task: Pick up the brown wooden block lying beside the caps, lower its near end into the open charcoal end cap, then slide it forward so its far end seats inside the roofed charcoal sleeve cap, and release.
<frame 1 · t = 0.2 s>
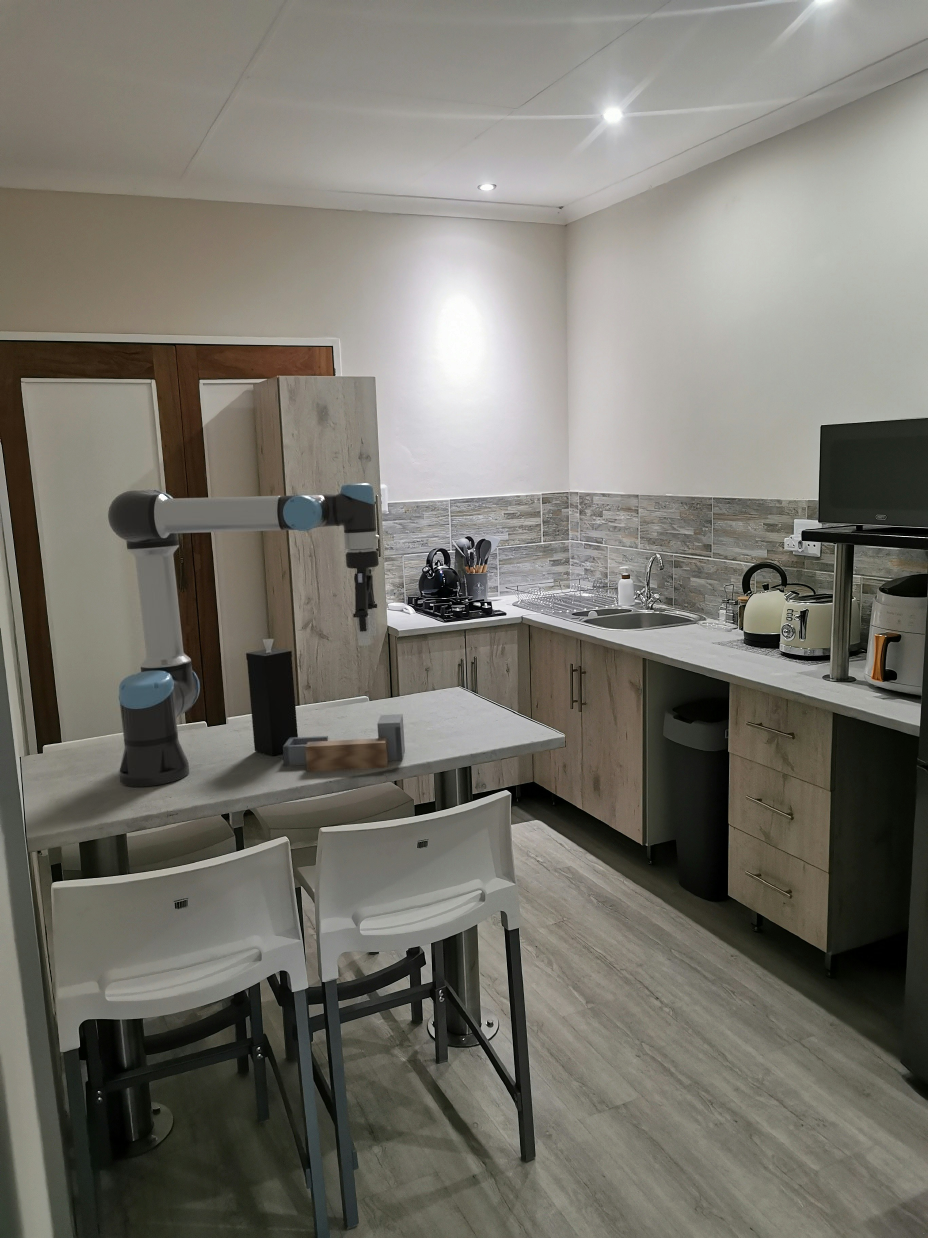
hand: (367, 640, 218), 27 cm above the table, fingers open, 13 cm apart
end cap A: (307, 759, 217), on the table
end cap B: (392, 756, 217), on the table
black tall block: (276, 751, 226), on the table
brown wooden block: (348, 767, 210), on the table
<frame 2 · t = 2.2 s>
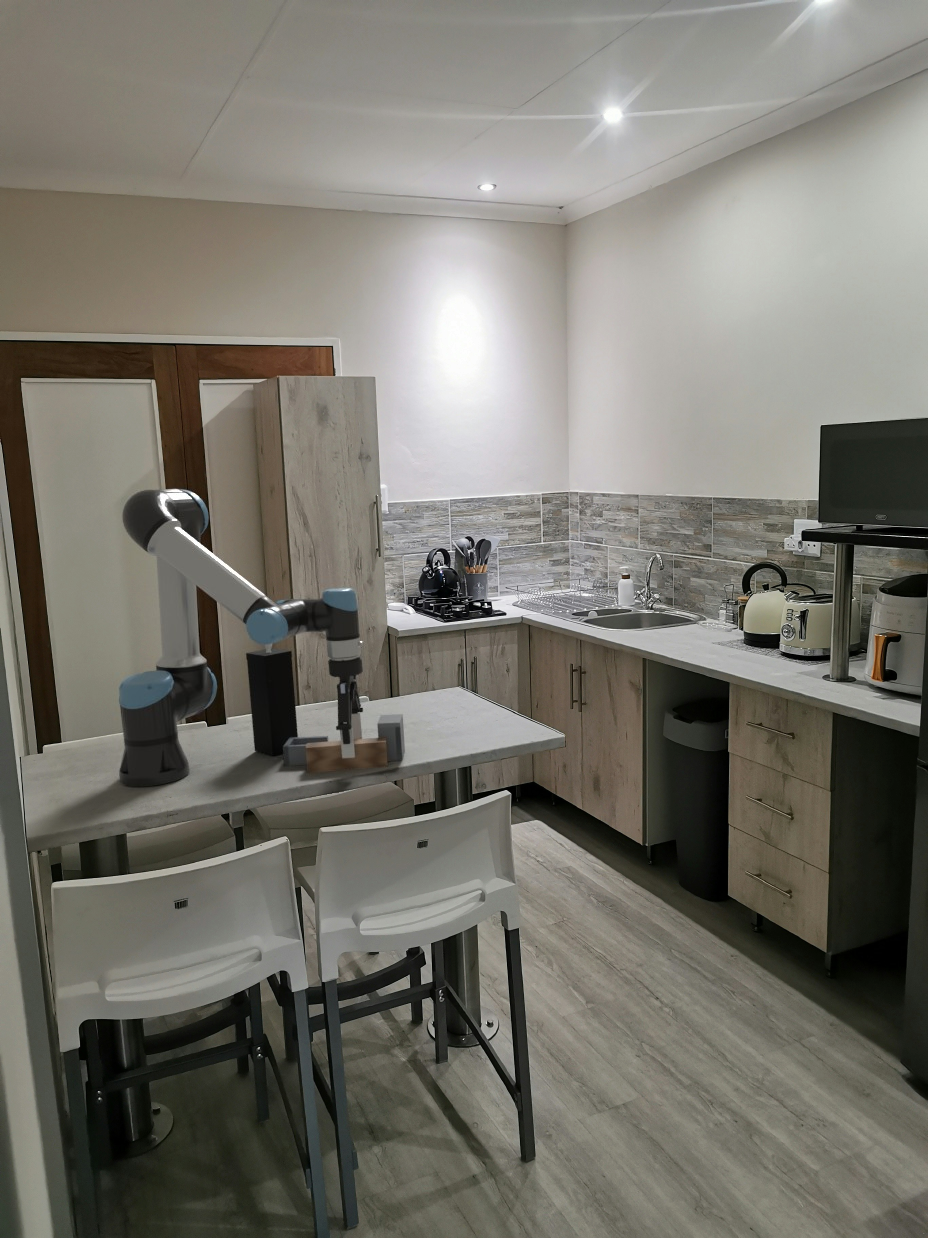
hand: (352, 749, 209), 4 cm above the table, fingers open, 13 cm apart
nothing on the table moved.
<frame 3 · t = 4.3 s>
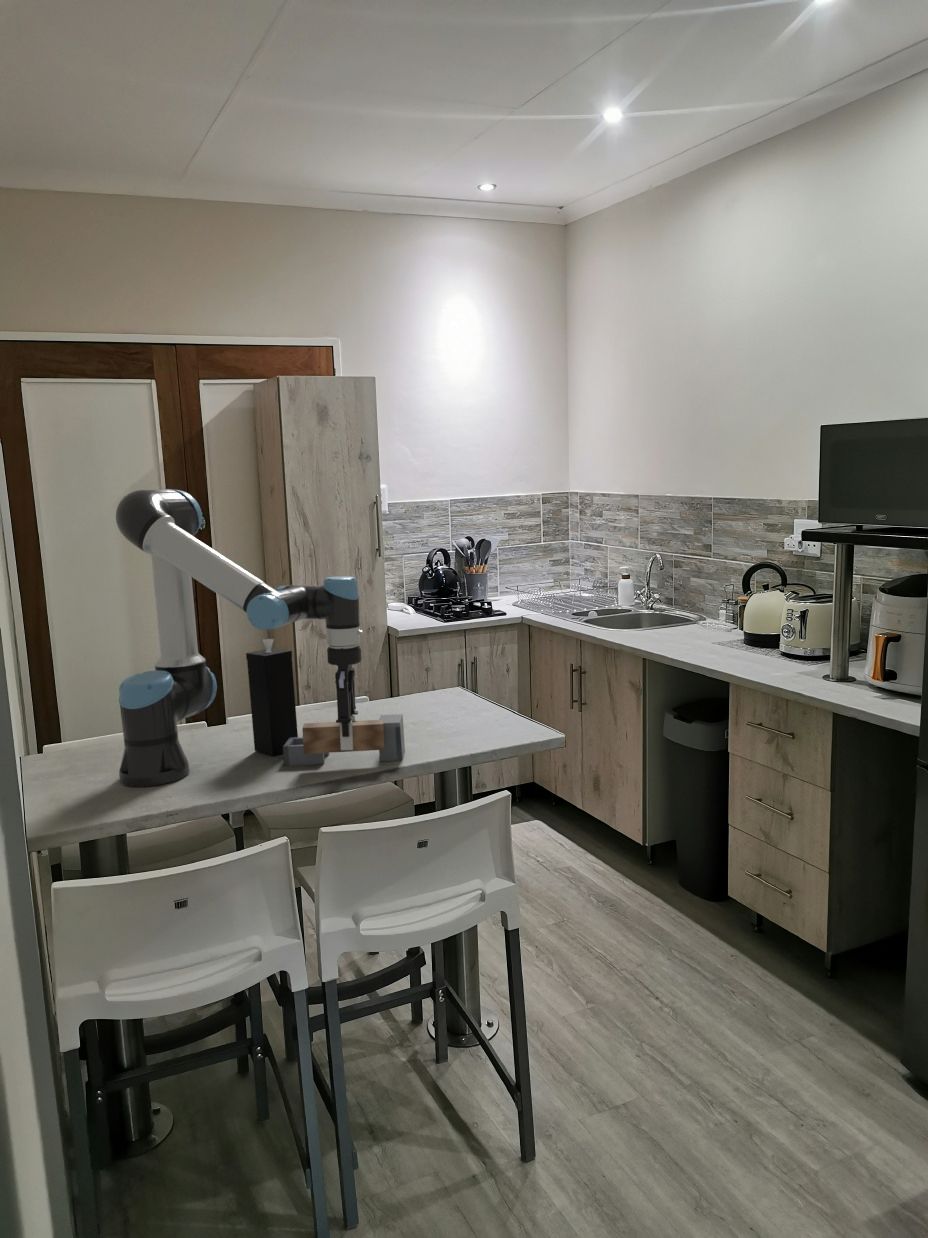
hand: (348, 746, 210), 5 cm above the table, fingers closed on brown wooden block, 4 cm apart
brown wooden block: (344, 749, 210), point 4 cm above the table, touching gripper
everything else where it was.
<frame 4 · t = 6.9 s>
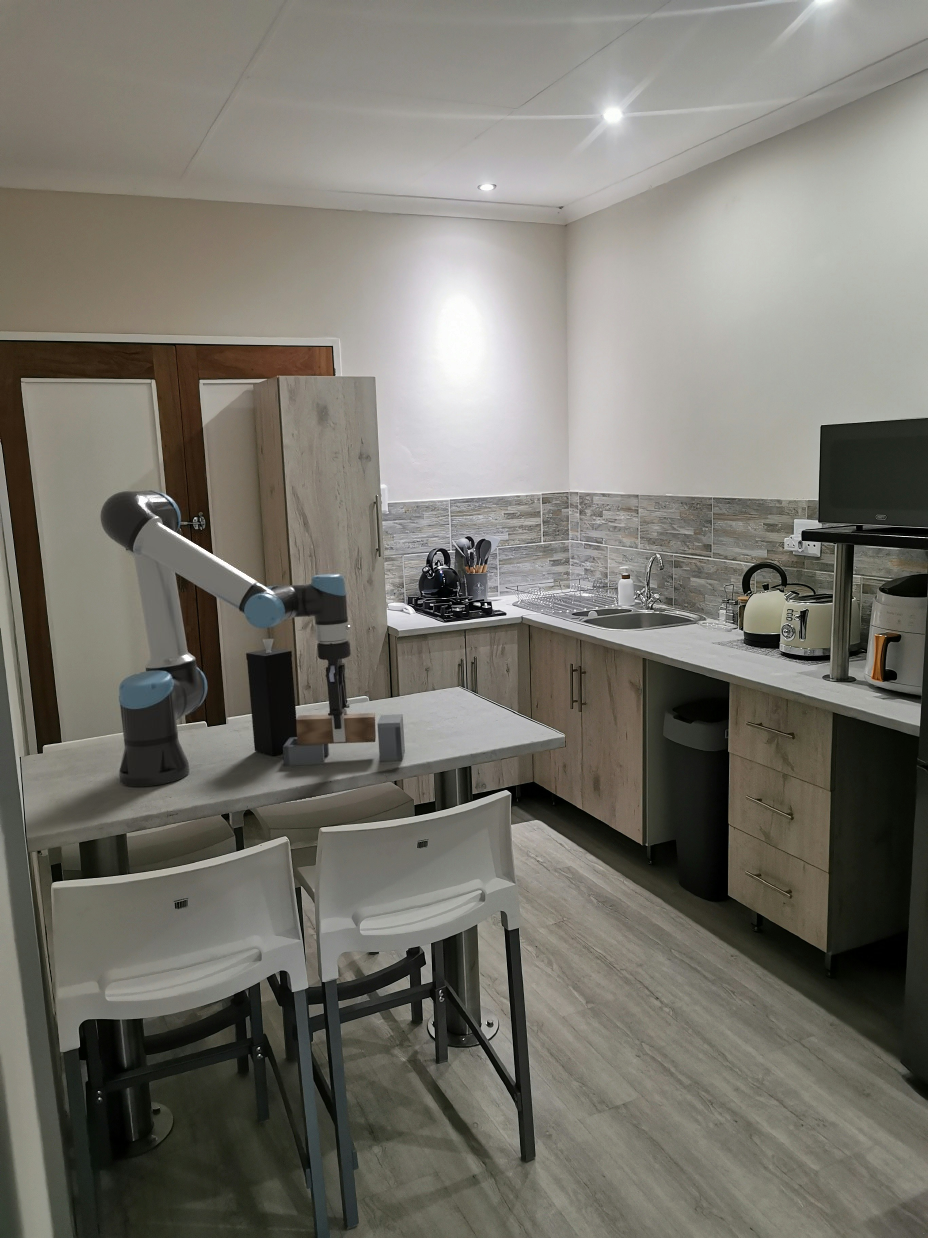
hand: (341, 738, 216), 5 cm above the table, fingers closed on brown wooden block, 4 cm apart
brown wooden block: (337, 741, 216), point 4 cm above the table, touching end cap A, gripper
everything else where it was.
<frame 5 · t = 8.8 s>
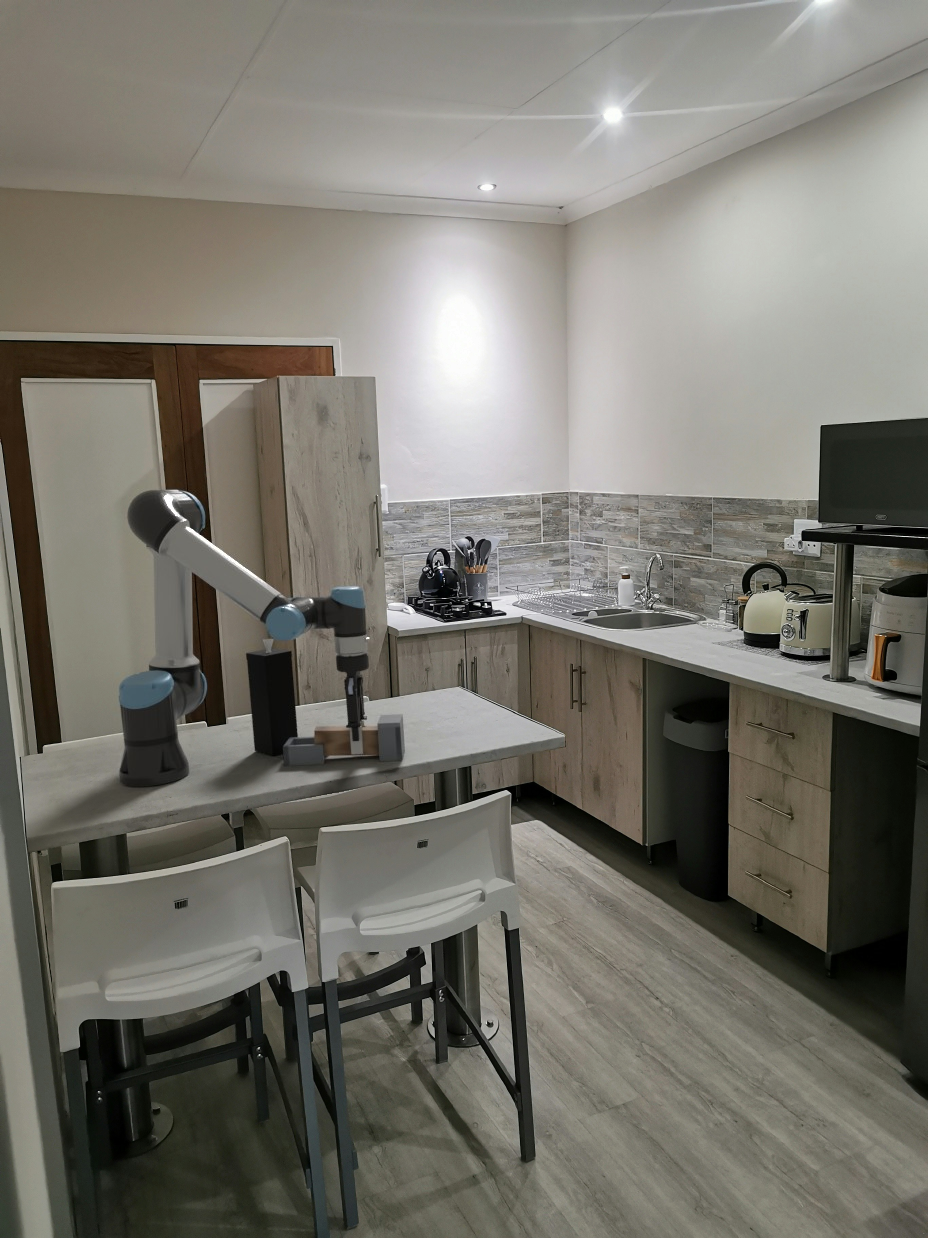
hand: (358, 750, 217), 2 cm above the table, fingers closed on brown wooden block, 4 cm apart
brown wooden block: (354, 753, 217), point 1 cm above the table, touching gripper
everything else where it was.
when the fingers open (2 cm above the table, at t = 9.9 s): brown wooden block drops 1 cm, on the table.
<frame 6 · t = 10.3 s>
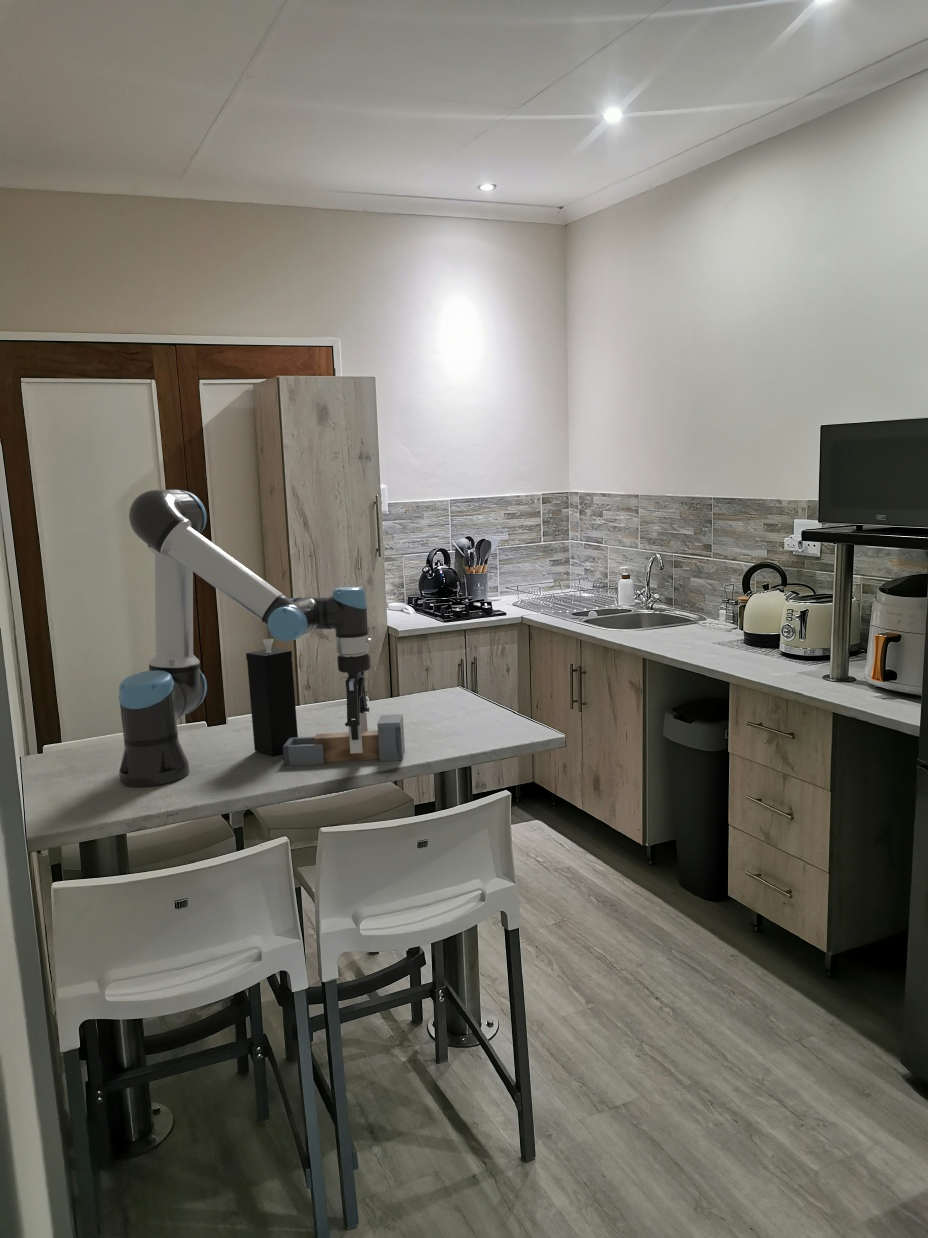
hand: (359, 746, 217), 3 cm above the table, fingers open, 10 cm apart
brown wooden block: (355, 758, 217), on the table
everything else where it was.
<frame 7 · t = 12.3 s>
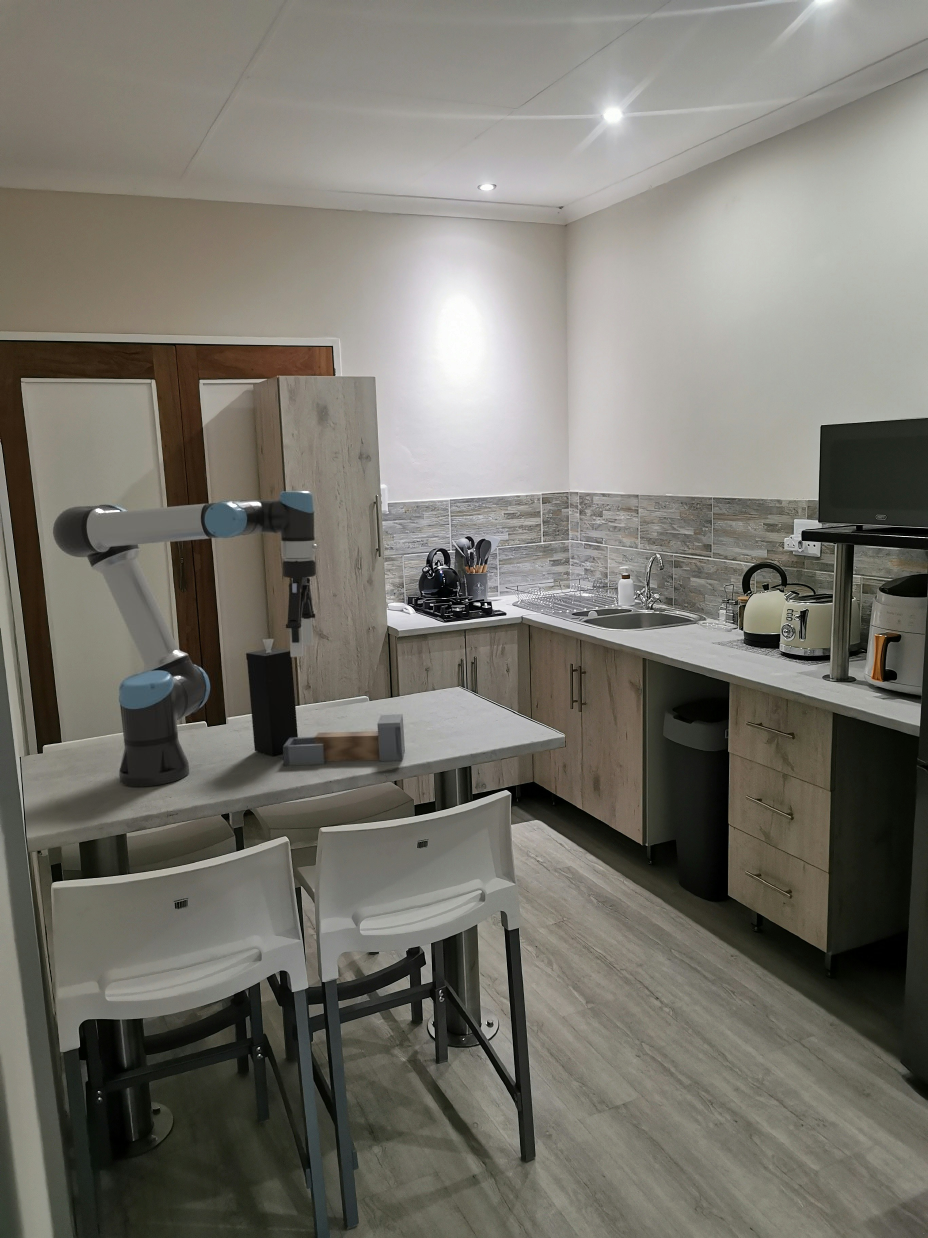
hand: (302, 651, 213), 26 cm above the table, fingers open, 13 cm apart
brown wooden block: (355, 758, 217), on the table, touching end cap A
everything else where it was.
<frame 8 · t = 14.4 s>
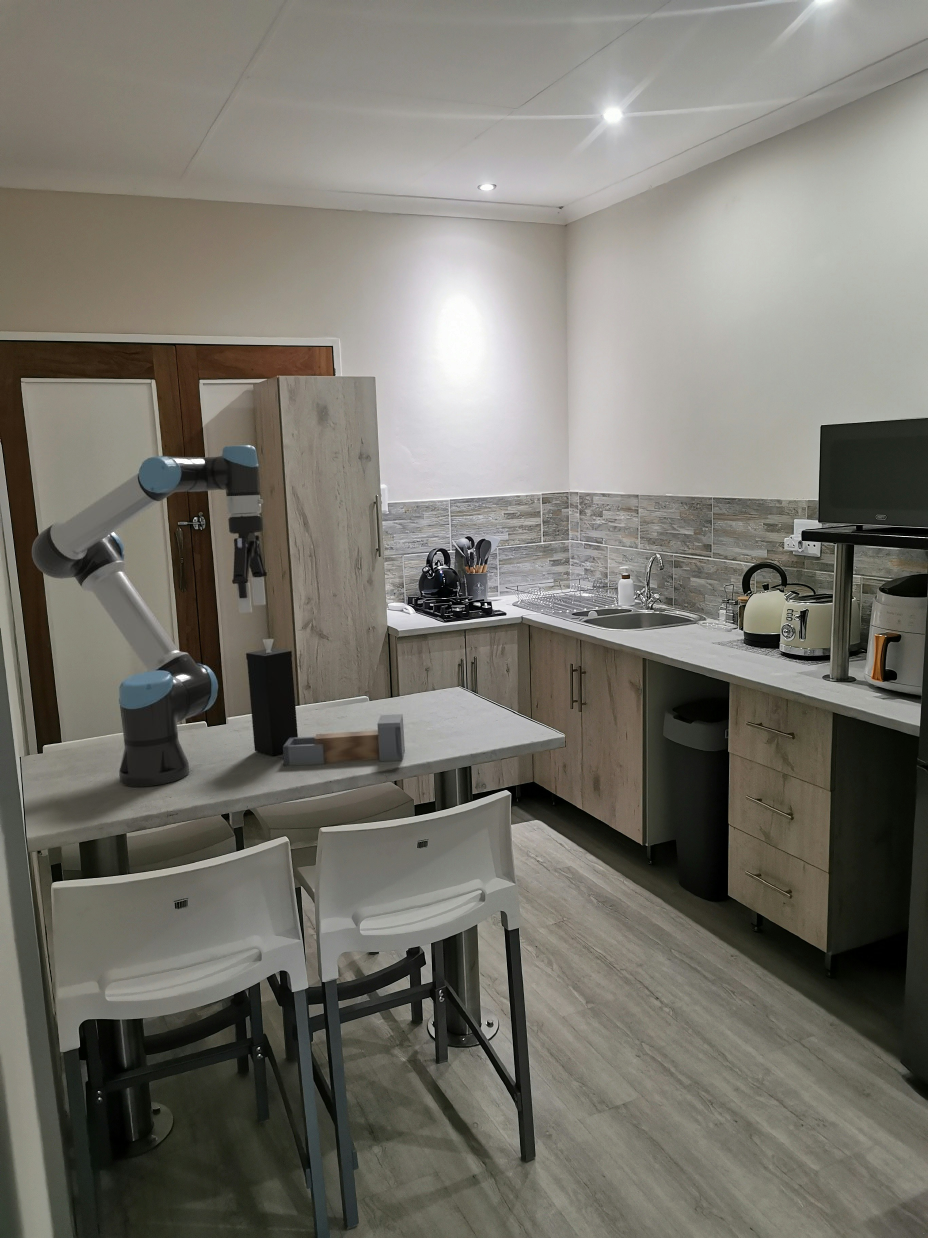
hand: (252, 608, 210), 37 cm above the table, fingers open, 13 cm apart
brown wooden block: (355, 758, 217), on the table
everything else where it was.
at the end: brown wooden block 0.1 cm from the target spot, on the table; brown wooden block tilted 0°; the gripper is holding nothing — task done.
